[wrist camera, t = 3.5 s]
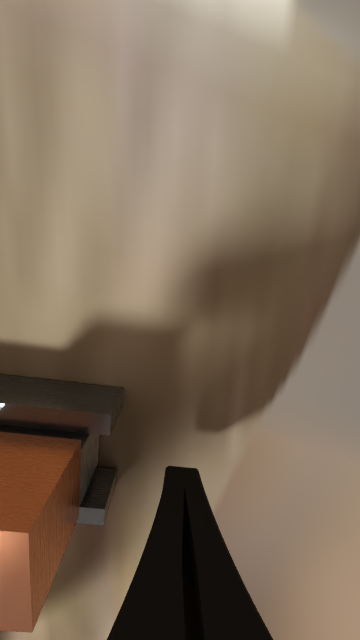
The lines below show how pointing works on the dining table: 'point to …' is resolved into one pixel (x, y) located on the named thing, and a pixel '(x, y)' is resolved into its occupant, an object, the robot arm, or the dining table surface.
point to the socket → (67, 423)
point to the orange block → (38, 513)
